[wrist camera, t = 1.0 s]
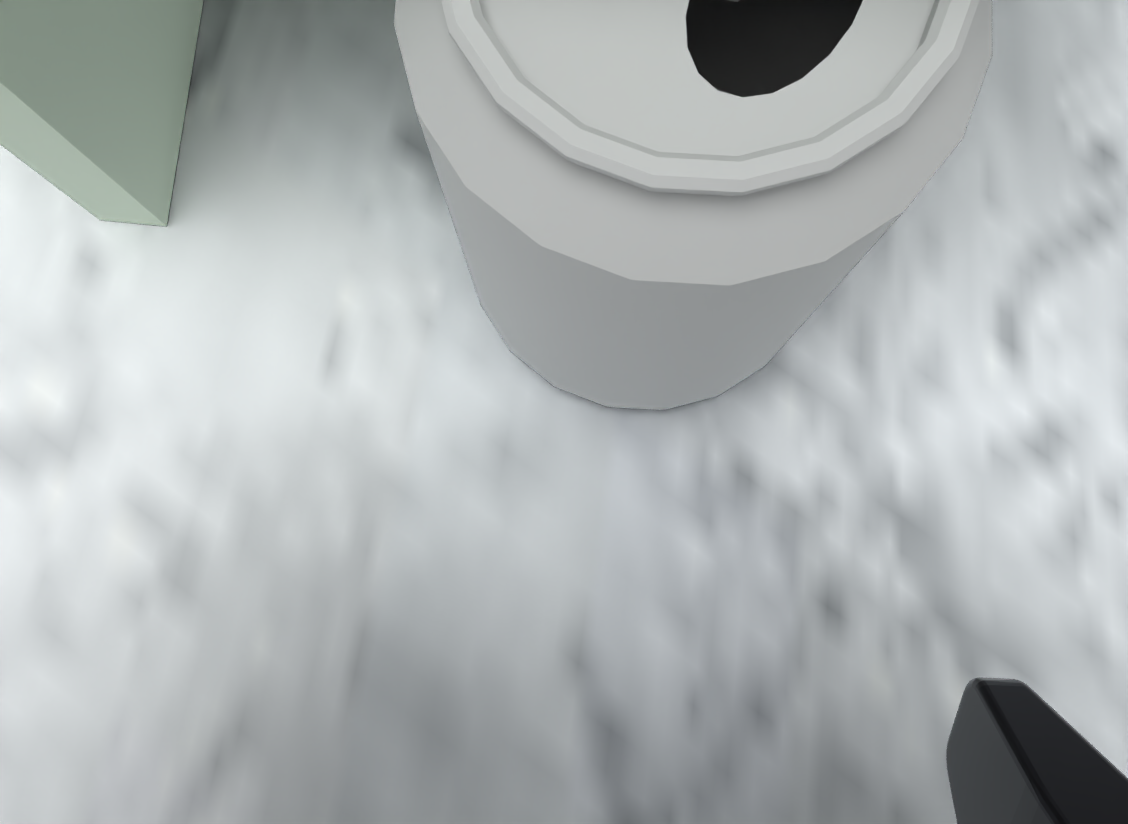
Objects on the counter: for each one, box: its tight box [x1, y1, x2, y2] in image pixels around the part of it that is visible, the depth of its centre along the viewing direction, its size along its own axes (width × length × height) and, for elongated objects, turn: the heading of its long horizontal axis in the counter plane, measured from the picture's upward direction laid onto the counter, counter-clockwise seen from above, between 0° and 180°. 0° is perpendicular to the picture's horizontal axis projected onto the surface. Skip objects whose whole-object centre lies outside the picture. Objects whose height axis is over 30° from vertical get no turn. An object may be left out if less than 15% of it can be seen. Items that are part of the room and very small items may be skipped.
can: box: [394, 0, 992, 410], centre depth 17 cm, size 8×8×12 cm
